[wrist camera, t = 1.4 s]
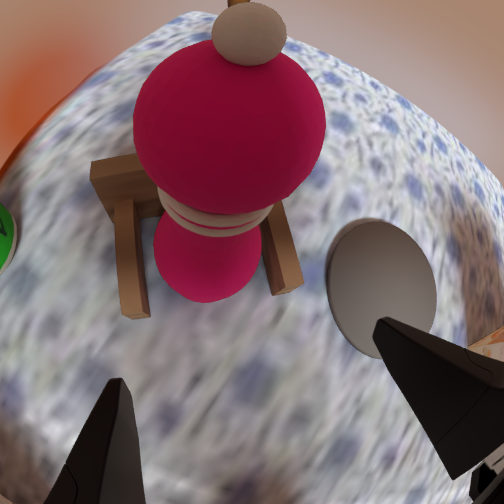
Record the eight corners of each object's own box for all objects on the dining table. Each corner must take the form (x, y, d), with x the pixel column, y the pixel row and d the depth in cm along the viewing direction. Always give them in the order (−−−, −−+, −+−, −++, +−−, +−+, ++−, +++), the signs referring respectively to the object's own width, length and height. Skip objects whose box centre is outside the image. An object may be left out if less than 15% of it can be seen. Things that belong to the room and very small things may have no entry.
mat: (445, 286, 27) (449, 284, 27) (393, 386, 22) (398, 386, 22) (371, 201, 29) (375, 197, 28) (297, 291, 24) (300, 289, 23)
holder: (299, 290, 24) (338, 267, 17) (121, 321, 20) (90, 308, 13) (271, 188, 26) (295, 141, 20) (112, 208, 23) (91, 161, 16)
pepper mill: (196, 209, 24) (226, -34, 6) (264, 257, 24) (417, 50, 6) (143, 273, 21) (33, 33, 3) (215, 327, 21) (357, 190, 3)
